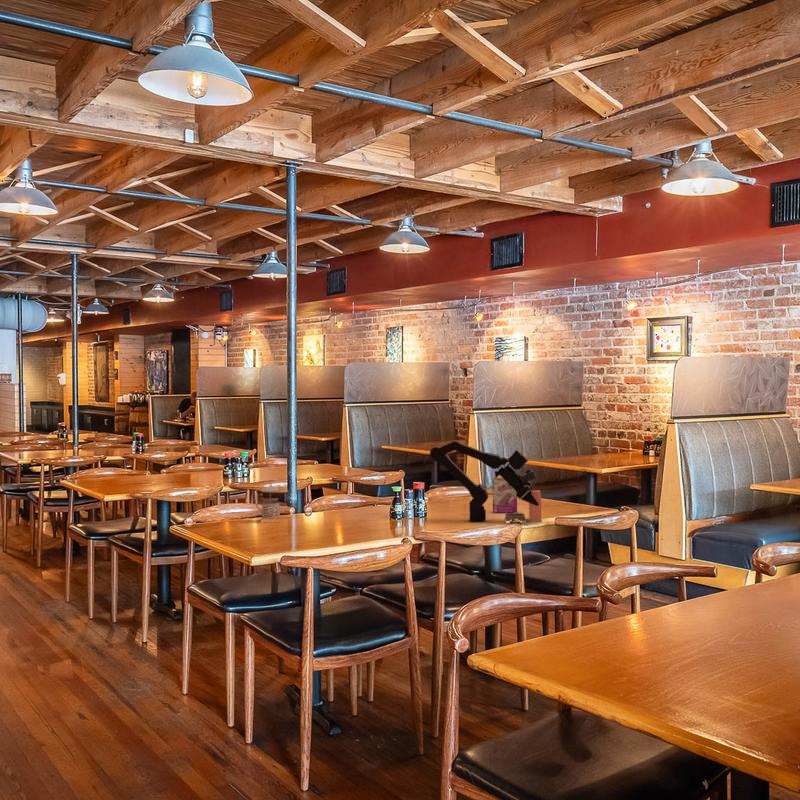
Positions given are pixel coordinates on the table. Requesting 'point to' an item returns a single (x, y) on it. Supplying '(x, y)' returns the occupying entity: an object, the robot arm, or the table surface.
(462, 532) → the table surface
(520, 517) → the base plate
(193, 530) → the table surface
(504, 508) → the candy bar box
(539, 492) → the column
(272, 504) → the french press
